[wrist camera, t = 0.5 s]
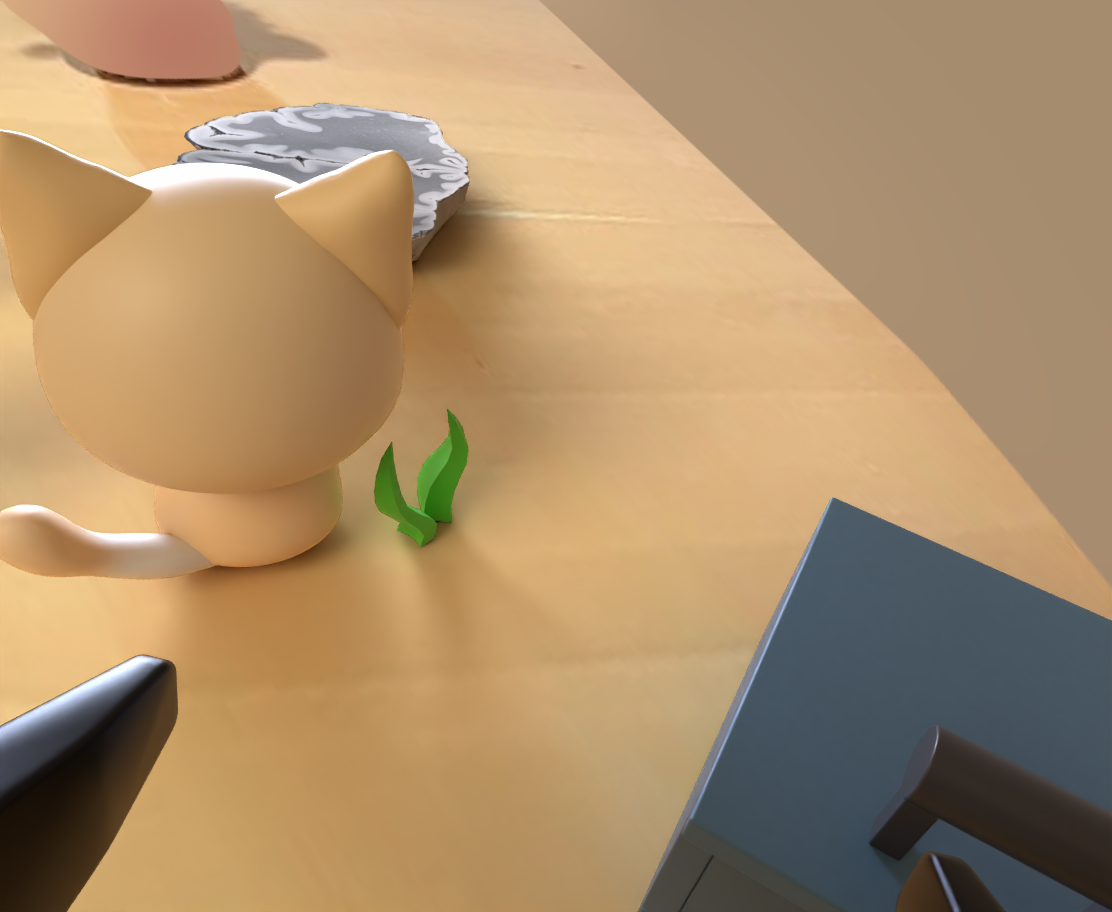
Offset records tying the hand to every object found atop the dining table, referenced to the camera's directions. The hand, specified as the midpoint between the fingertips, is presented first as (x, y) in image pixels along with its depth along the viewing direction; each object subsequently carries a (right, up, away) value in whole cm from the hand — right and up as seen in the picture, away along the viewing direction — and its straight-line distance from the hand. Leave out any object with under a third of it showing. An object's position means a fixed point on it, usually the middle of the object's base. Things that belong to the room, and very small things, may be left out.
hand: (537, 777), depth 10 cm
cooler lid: (+11, -4, +11) cm, 16 cm away
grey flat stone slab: (-14, +19, +43) cm, 49 cm away
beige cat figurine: (-11, +1, +22) cm, 25 cm away
